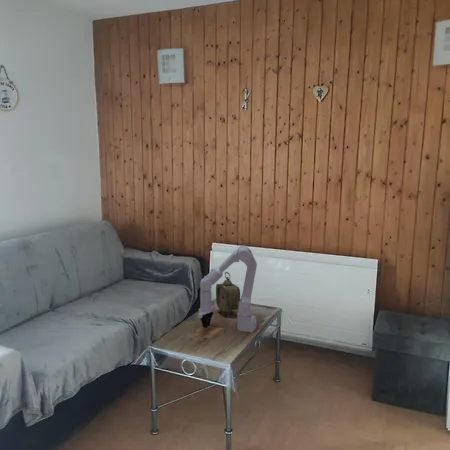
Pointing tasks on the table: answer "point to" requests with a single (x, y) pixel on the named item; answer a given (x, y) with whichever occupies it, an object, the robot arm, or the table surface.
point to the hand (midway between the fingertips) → (206, 326)
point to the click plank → (211, 330)
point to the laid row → (205, 335)
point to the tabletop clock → (227, 296)
